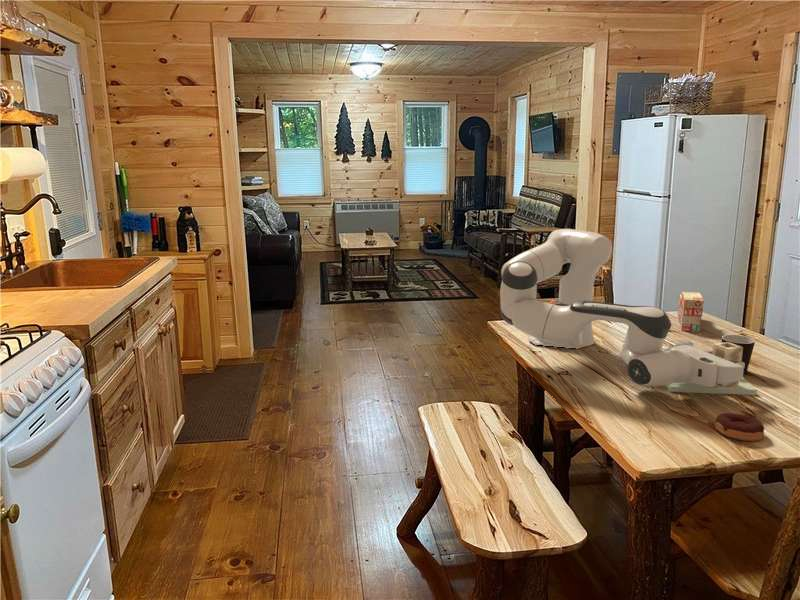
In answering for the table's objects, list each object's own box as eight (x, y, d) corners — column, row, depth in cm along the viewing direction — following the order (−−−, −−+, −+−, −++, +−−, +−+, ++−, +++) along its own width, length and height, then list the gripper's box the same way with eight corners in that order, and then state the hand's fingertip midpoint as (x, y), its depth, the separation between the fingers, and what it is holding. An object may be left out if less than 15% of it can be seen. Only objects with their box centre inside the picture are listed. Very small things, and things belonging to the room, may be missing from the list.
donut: (768, 432, 137) (770, 417, 136) (758, 448, 130) (760, 431, 129) (720, 420, 144) (722, 405, 143) (709, 435, 137) (710, 419, 136)
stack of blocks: (677, 316, 235) (679, 286, 232) (694, 317, 233) (697, 287, 230) (681, 331, 216) (684, 298, 213) (700, 332, 214) (703, 300, 211)
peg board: (670, 391, 161) (670, 386, 161) (658, 376, 173) (658, 371, 172) (756, 395, 158) (757, 389, 158) (738, 378, 170) (739, 373, 169)
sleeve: (723, 387, 160) (728, 349, 157) (709, 381, 164) (713, 343, 162) (738, 385, 161) (743, 347, 158) (723, 379, 166) (728, 341, 163)
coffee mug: (750, 378, 170) (754, 345, 168) (716, 372, 174) (720, 340, 172) (752, 365, 179) (756, 334, 177) (720, 361, 184) (723, 330, 182)
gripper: (658, 363, 168) (698, 358, 171) (715, 389, 149) (758, 382, 152) (660, 342, 166) (700, 337, 170) (717, 366, 147) (761, 359, 151)
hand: (728, 359), depth 161 cm, fingers open, 8 cm apart
